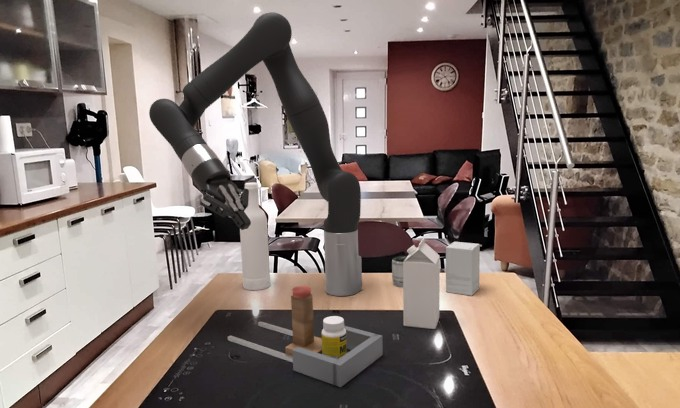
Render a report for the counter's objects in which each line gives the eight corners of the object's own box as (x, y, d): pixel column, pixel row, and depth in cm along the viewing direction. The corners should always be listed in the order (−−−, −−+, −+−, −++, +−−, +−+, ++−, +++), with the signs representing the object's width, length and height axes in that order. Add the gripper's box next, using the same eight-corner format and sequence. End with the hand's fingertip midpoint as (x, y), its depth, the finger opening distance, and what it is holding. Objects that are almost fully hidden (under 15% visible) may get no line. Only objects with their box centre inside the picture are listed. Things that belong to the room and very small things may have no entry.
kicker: (308, 341, 99) (305, 282, 97) (335, 349, 95) (334, 288, 93) (285, 354, 94) (282, 292, 92) (313, 363, 90) (311, 299, 88)
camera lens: (418, 283, 136) (418, 256, 135) (407, 289, 131) (407, 261, 130) (399, 279, 140) (399, 253, 139) (387, 285, 135) (387, 258, 134)
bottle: (261, 280, 143) (255, 180, 138) (276, 285, 137) (271, 182, 132) (237, 286, 137) (231, 183, 133) (252, 292, 132) (246, 185, 127)
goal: (338, 341, 99) (337, 323, 99) (382, 354, 93) (382, 335, 92) (293, 370, 88) (292, 350, 87) (340, 387, 82) (340, 365, 81)
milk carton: (439, 317, 111) (440, 238, 108) (435, 330, 104) (435, 245, 101) (409, 314, 113) (408, 236, 110) (403, 326, 106) (402, 243, 103)
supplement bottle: (343, 368, 88) (342, 325, 87) (319, 366, 89) (317, 323, 88) (349, 356, 93) (348, 315, 91) (325, 354, 94) (324, 314, 92)
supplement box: (480, 288, 130) (481, 243, 128) (471, 296, 124) (472, 249, 122) (453, 284, 134) (454, 240, 132) (444, 292, 128) (445, 246, 126)
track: (260, 324, 109) (260, 321, 109) (324, 343, 99) (324, 340, 98) (227, 340, 101) (227, 336, 101) (293, 362, 91) (292, 358, 91)
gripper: (187, 159, 100) (230, 221, 95) (235, 155, 110) (276, 211, 105) (174, 183, 104) (215, 244, 98) (221, 177, 114) (260, 232, 109)
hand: (246, 227), depth 102 cm, fingers closed
